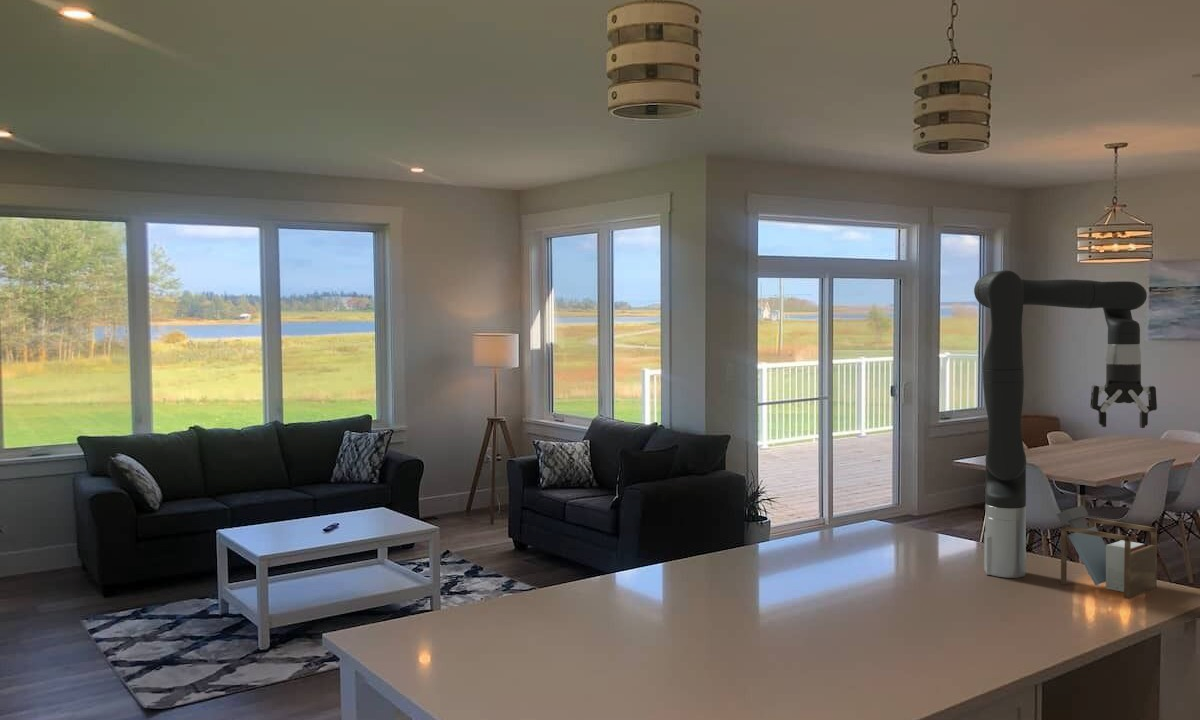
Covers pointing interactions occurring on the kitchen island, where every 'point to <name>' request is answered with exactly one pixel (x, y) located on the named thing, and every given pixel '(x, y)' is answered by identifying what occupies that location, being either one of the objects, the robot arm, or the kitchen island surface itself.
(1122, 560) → the small box
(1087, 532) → the trapdoor frame
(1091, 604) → the kitchen island surface
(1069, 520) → the trapdoor
